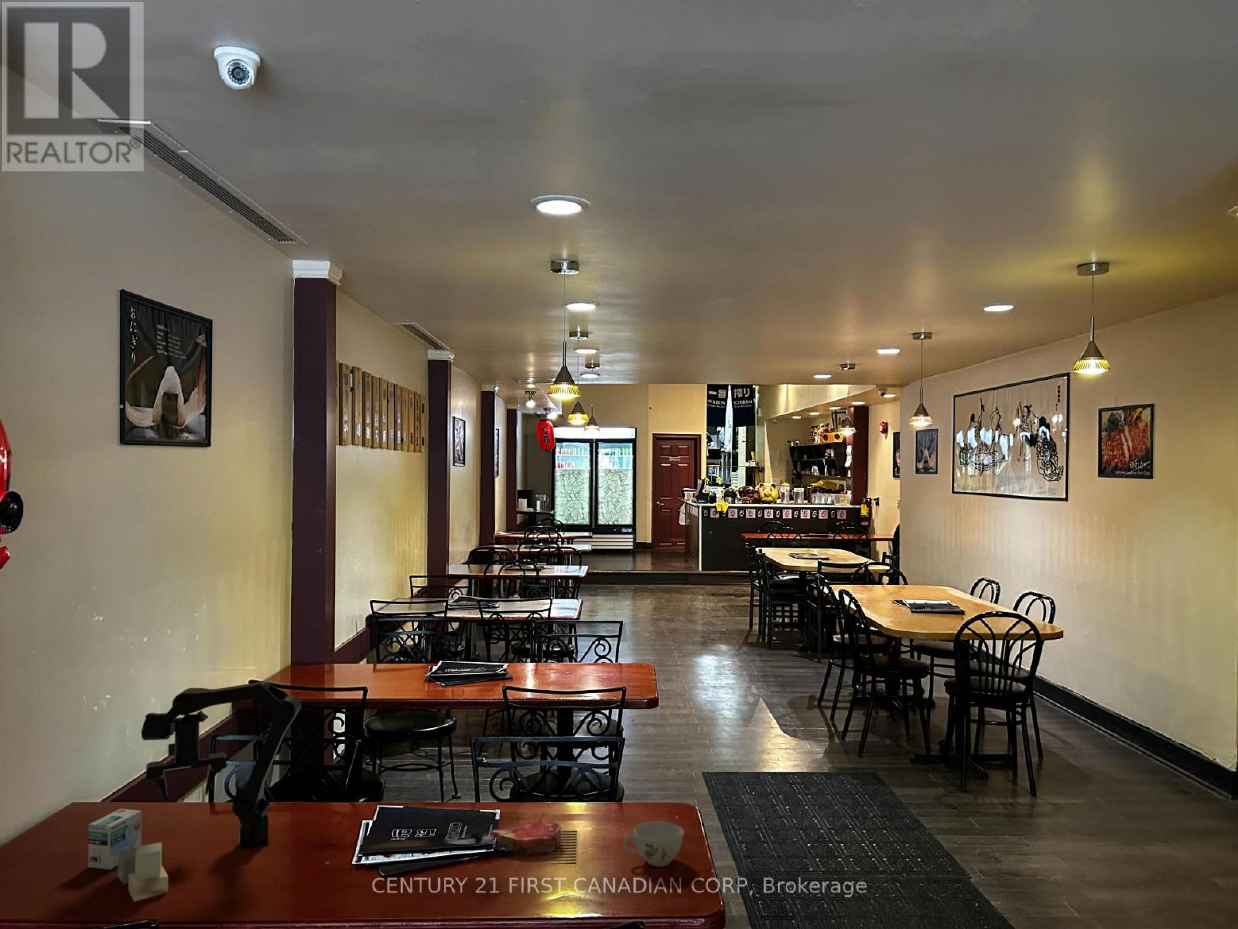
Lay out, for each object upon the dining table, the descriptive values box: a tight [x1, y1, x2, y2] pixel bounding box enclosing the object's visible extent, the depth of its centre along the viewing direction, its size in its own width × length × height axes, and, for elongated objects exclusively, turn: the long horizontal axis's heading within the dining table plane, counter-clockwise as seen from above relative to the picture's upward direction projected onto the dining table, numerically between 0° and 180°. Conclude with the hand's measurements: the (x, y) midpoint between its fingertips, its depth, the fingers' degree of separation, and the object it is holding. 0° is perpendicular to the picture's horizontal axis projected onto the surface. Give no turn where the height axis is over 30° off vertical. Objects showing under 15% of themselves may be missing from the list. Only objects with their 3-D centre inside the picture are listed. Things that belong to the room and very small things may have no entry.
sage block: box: [135, 842, 163, 881], centre depth 199 cm, size 5×5×6 cm
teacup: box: [623, 820, 685, 868], centre depth 214 cm, size 15×12×8 cm
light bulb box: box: [88, 808, 143, 871], centre depth 215 cm, size 11×7×11 cm, turn 168°
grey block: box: [117, 847, 137, 885], centre depth 205 cm, size 5×5×6 cm
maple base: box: [128, 865, 169, 902], centre depth 198 cm, size 7×7×4 cm
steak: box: [491, 819, 578, 865], centre depth 222 cm, size 25×21×6 cm
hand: (186, 798), depth 223 cm, fingers open, 9 cm apart
